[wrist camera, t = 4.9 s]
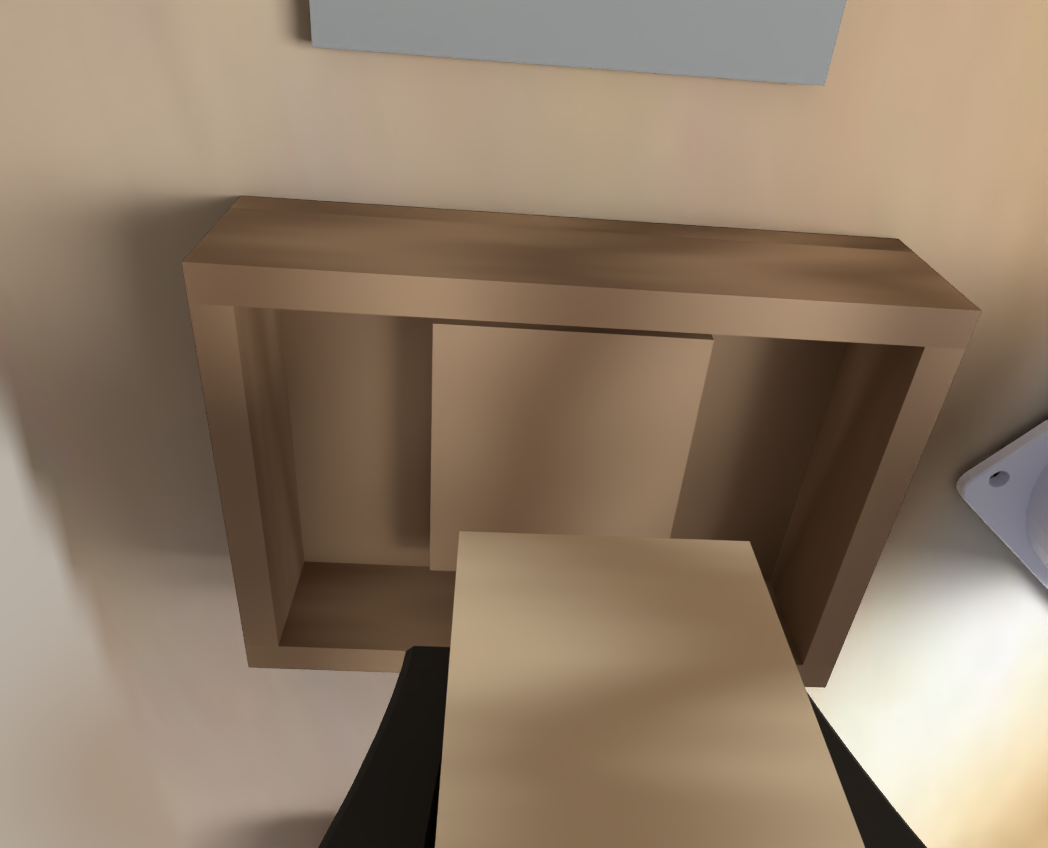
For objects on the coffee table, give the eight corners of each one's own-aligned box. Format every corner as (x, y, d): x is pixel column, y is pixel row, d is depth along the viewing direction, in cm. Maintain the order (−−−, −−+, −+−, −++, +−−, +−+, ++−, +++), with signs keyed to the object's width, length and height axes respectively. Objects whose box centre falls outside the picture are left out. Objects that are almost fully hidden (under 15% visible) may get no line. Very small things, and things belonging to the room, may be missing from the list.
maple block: (750, 541, 11) (873, 869, 7) (688, 763, 14) (755, 1084, 10) (459, 531, 11) (434, 862, 7) (454, 757, 14) (434, 1084, 10)
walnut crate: (898, 239, 18) (981, 310, 15) (782, 582, 24) (825, 687, 21) (240, 195, 17) (181, 262, 14) (284, 562, 23) (248, 667, 20)
